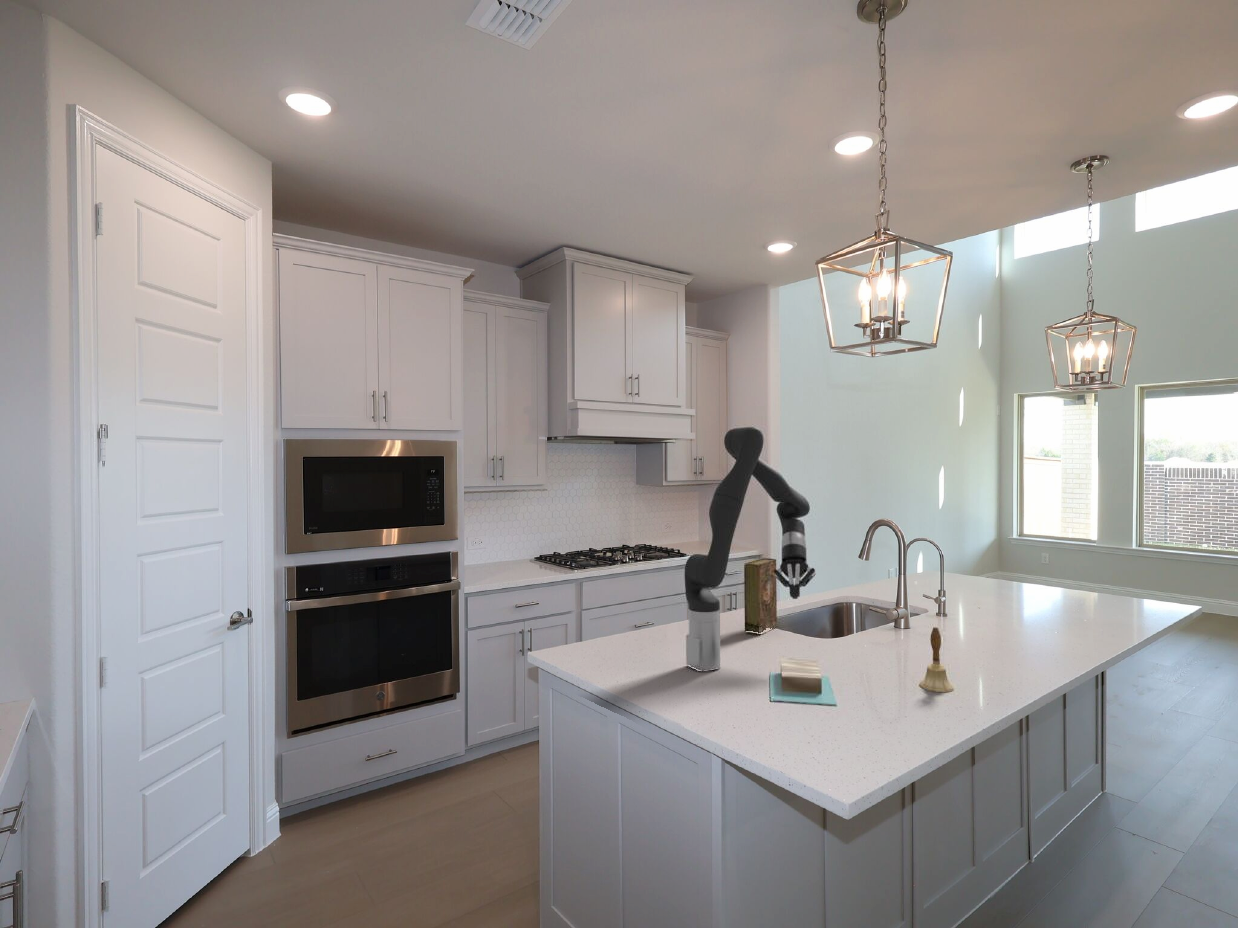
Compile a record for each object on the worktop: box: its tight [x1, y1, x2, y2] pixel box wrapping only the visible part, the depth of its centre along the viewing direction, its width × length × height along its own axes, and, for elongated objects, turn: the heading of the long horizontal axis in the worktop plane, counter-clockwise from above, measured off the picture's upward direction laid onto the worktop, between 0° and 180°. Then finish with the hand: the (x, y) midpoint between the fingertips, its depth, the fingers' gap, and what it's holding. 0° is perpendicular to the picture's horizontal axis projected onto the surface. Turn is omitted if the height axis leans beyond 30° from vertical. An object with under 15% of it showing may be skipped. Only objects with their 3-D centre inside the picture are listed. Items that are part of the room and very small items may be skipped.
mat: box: [769, 672, 838, 707], centre depth 174 cm, size 22×16×1 cm
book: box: [743, 557, 778, 633], centre depth 237 cm, size 16×6×25 cm, turn 143°
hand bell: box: [919, 626, 955, 693], centre depth 175 cm, size 8×8×16 cm
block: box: [780, 657, 822, 694], centre depth 178 cm, size 4×10×16 cm
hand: (794, 597), depth 195 cm, fingers closed
